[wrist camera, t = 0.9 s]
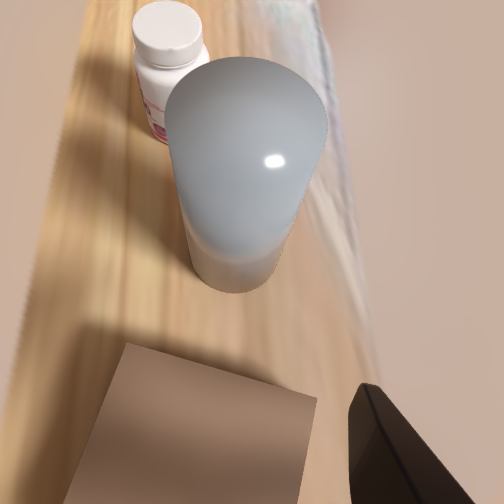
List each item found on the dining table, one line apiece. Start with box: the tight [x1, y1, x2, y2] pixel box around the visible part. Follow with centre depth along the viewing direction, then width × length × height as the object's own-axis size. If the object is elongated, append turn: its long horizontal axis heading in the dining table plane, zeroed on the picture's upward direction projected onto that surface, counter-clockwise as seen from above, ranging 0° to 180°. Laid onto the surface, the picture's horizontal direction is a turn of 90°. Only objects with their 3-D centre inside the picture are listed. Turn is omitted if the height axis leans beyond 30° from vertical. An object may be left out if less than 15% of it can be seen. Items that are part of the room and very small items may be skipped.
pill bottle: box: [132, 0, 210, 144], centre depth 26 cm, size 5×5×8 cm
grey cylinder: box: [164, 57, 328, 293], centre depth 20 cm, size 6×6×13 cm
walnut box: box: [63, 342, 317, 504], centre depth 19 cm, size 10×10×4 cm
